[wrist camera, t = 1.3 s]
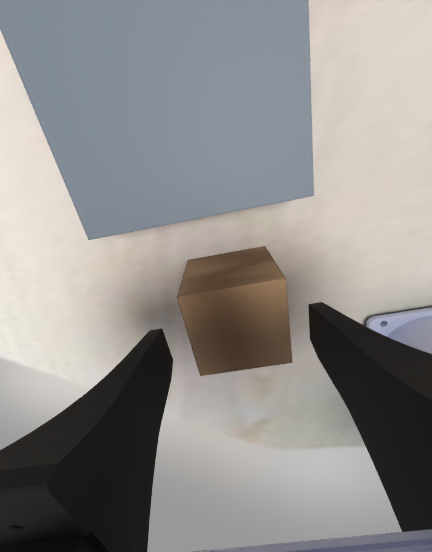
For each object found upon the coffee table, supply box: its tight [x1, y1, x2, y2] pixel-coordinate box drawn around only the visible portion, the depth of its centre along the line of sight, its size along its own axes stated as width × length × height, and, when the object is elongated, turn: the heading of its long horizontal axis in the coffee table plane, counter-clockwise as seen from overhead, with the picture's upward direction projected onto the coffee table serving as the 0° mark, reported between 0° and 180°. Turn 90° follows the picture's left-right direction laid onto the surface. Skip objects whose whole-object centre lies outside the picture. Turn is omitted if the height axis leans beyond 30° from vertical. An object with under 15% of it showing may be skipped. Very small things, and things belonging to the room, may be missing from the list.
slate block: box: [0, 0, 314, 240], centre depth 11 cm, size 11×11×4 cm
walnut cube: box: [177, 246, 292, 376], centre depth 14 cm, size 5×5×5 cm
